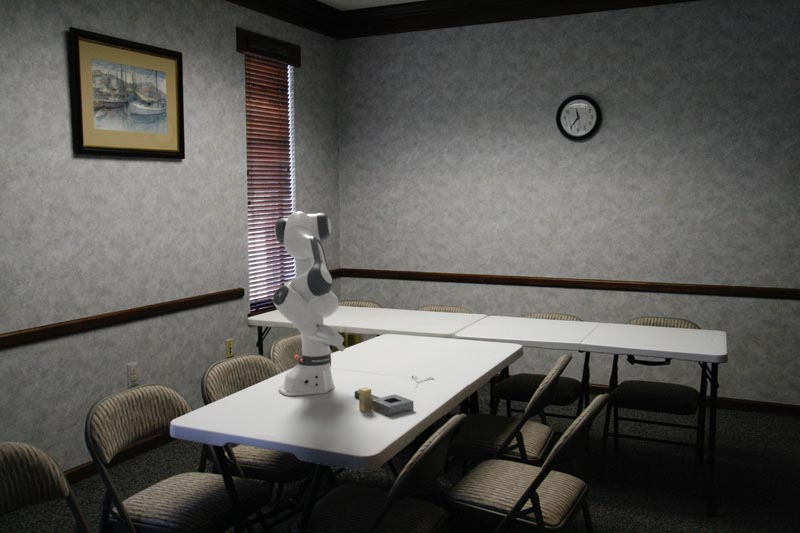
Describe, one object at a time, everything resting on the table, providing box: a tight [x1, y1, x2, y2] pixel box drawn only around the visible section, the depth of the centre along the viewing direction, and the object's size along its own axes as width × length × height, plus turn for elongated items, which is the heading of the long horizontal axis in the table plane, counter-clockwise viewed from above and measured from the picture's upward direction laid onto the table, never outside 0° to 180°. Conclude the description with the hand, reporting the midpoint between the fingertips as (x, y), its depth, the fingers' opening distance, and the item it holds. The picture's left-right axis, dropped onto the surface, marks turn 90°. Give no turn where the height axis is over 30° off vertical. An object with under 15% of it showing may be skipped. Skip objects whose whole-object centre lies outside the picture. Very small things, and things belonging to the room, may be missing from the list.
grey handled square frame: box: [354, 389, 414, 417], centre depth 261 cm, size 11×29×4 cm, turn 38°
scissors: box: [410, 374, 435, 389], centre depth 291 cm, size 11×1×20 cm
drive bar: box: [358, 387, 373, 413], centre depth 253 cm, size 3×3×8 cm
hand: (335, 347), depth 244 cm, fingers open, 8 cm apart
